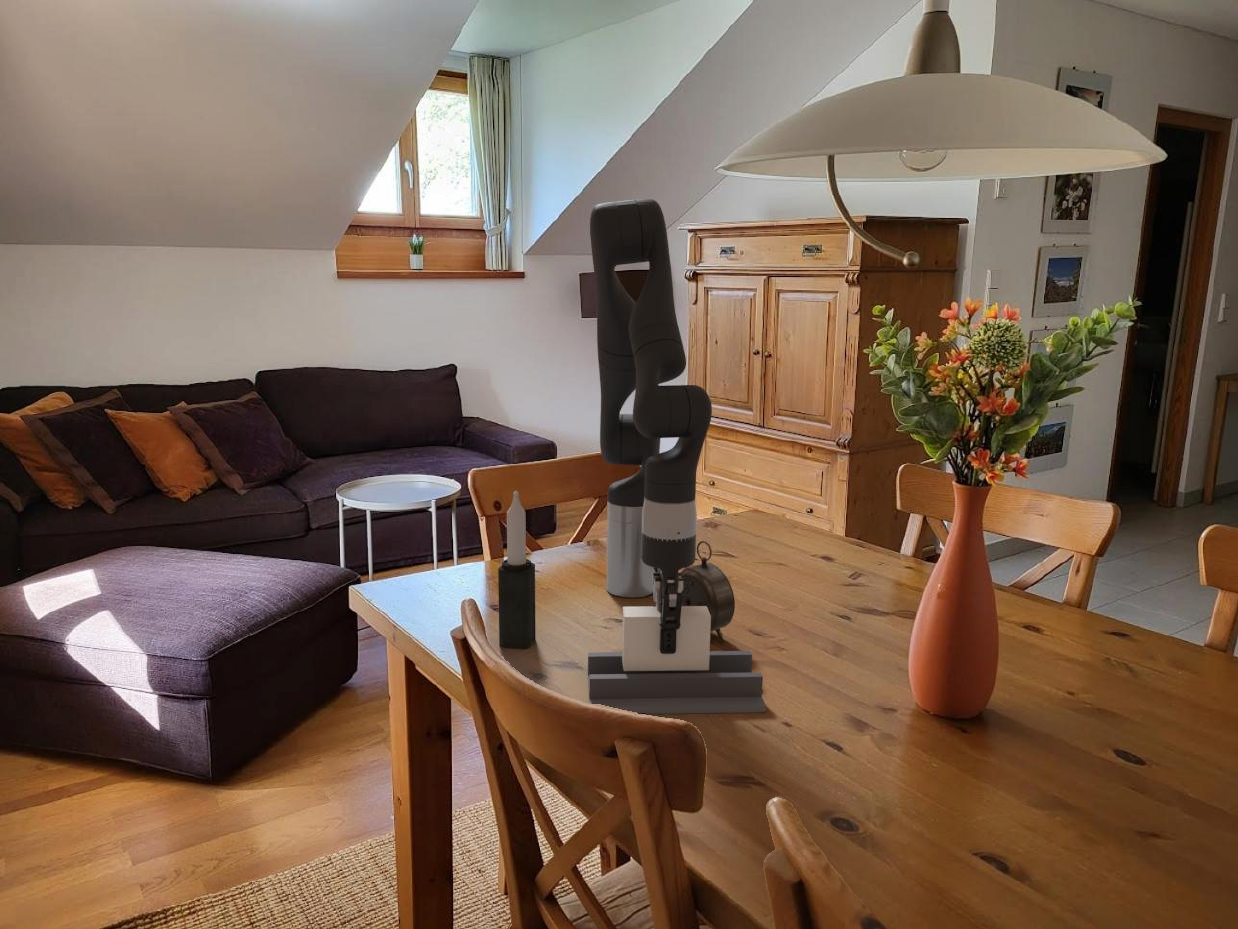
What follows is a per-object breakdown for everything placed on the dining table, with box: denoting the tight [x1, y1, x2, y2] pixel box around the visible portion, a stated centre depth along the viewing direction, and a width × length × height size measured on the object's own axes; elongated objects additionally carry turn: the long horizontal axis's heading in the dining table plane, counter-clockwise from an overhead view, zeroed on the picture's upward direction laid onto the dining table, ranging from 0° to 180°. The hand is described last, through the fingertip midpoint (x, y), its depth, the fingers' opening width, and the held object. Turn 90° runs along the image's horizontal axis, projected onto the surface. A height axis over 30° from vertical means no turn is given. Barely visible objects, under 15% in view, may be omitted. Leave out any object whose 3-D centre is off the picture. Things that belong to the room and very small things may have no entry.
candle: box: [497, 490, 536, 650], centre depth 146 cm, size 5×5×25 cm
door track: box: [587, 650, 767, 715], centre depth 132 cm, size 14×24×4 cm, turn 93°
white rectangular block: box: [621, 605, 711, 671], centre depth 130 cm, size 4×12×8 cm, turn 93°
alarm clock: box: [680, 540, 736, 643], centre depth 150 cm, size 11×5×16 cm, turn 35°
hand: (665, 645), depth 130 cm, fingers closed on white rectangular block, 4 cm apart
